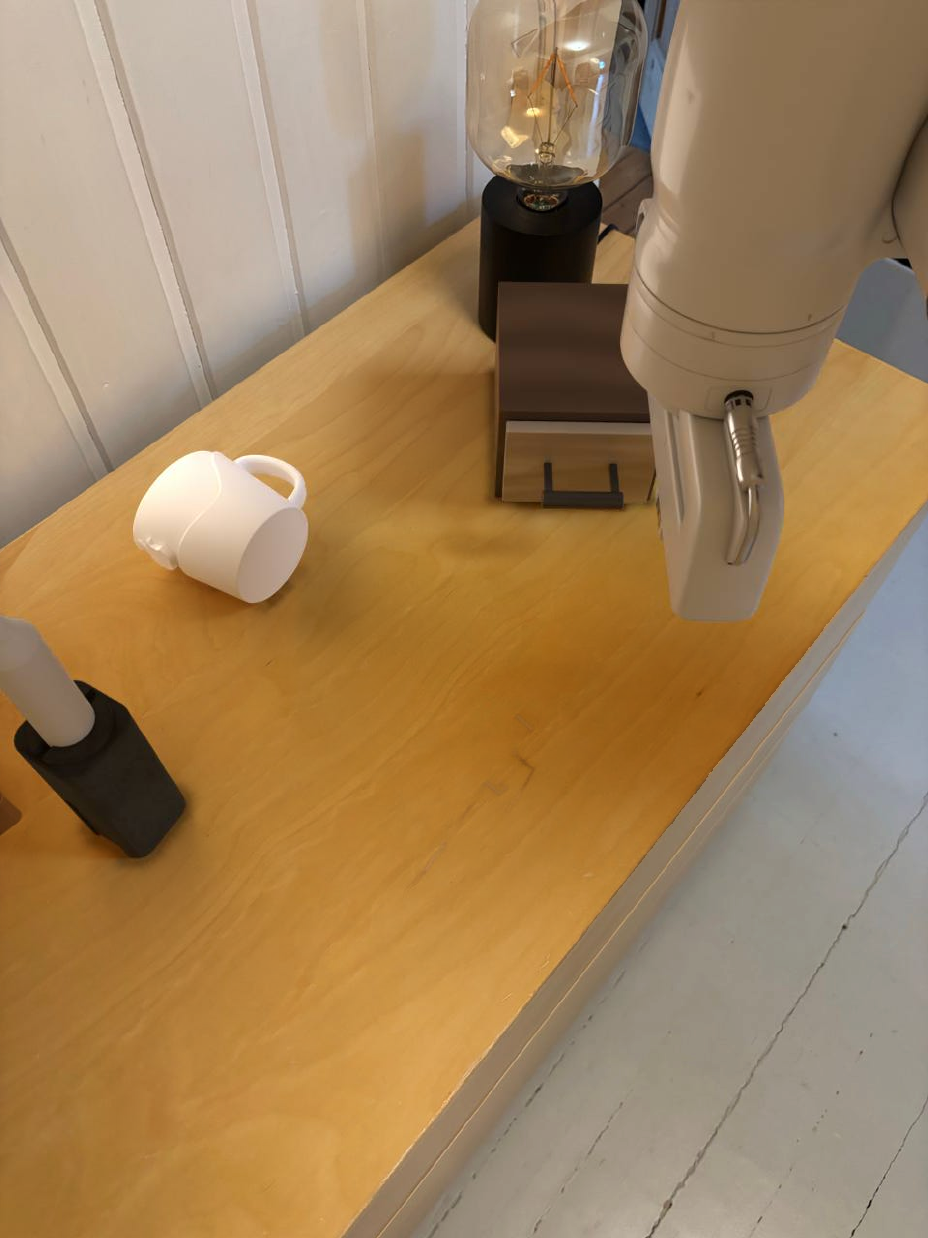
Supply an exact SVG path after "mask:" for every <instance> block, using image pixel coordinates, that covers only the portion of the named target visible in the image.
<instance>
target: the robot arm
mask: <svg viewBox="0 0 928 1238" xmlns="http://www.w3.org/2000/svg"><path fill="white" fill-rule="evenodd" d="M667 49H668V50H667V55H666V59H665V64H664V68H663V73H662V78H661V83H660V89H659V93H658V99H657V103H656V110H655V117H654V123H653V128H652V135H651V143H650V163H651V164H650V166H651V172H652V177H653V179H652V180H653V193H652V194H653V195H652V197H651V198H649V197H648V198H644V199H642V200H641V202H640V203H639V207H638V212H637V218H636V225H635V237H634V247H633V254H632V261H631V267H630V273H629V280H628V284H629V285H628V291H627V298H626V305H625V311H624V317H623V323H622V330H621V336H620V347H621V353H622V356H623V360H624V362H625V364H626V366H627V368H628V370H629V372H630V373H631V374H632V376H633V377H634V378H635V380H636V381H637V382H638V383H639V384H640V385H641V386H642V387H643V388H644V389H645V390H646V391H647V394H648V403H649V412H650V421H651V430H652V439H653V448H654V458H655V467H656V484H657V485H656V490H655V491H656V492H655V496H654V498H655V508H656V516H657V526H658V538H659V539H660V541H662V542H663V547H664V556H665V565H666V575H667V584H668V592H669V593H668V594H669V602H670V609H671V611H672V613H673V614H674V615H675V616H676V617H678V618H679V619H681V620H685V621H689V622H695V623H710V624H711V623H713V624H714V623H715V624H717V623H718V624H721V623H738V622H743V621H747V620H749V619H750V618H752V617H754V615H755V613H756V611H757V610H758V607H759V605H760V602H761V600H762V596H763V594H764V591H765V588H766V586H767V583H768V580H769V577H770V574H771V571H772V568H773V565H774V561H775V559H776V555H777V552H778V548H779V544H780V540H781V537H782V532H783V526H784V517H785V494H784V493H785V492H784V484H783V479H782V474H781V470H780V465H779V459H778V453H777V449H776V445H775V439H774V434H773V429H772V426H771V420H770V416H772V415H775V414H777V413H780V412H782V411H785V410H786V409H789V408H790V407H792V406H794V405H796V404H797V403H798V402H800V401H801V400H802V399H804V398H805V397H806V396H807V395H808V394H809V393H810V392H811V391H812V389H813V388H814V387H815V385H816V384H817V382H818V380H819V378H820V375H821V374H822V371H823V368H824V366H825V364H826V361H827V358H828V355H829V353H830V351H831V348H832V345H833V342H834V340H835V339H836V336H837V333H838V331H839V329H840V326H841V324H842V321H843V318H844V316H845V314H846V311H847V309H848V306H849V305H850V301H851V299H852V296H853V293H854V291H855V288H856V286H857V284H858V281H859V280H860V278H861V276H862V274H863V273H864V271H865V270H866V269H867V268H868V267H869V266H871V265H872V264H874V263H876V262H877V261H880V260H884V259H908V261H909V264H910V266H911V270H912V272H913V275H914V277H915V280H916V281H917V284H918V286H919V290H920V291H921V294H922V296H923V299H924V301H925V312H926V313H925V314H926V318H927V320H928V0H679V5H678V8H677V12H676V16H675V20H674V25H673V28H672V32H671V37H670V41H669V46H668V48H667Z"/></svg>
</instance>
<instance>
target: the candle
mask: <svg viewBox="0 0 928 1238" xmlns="http://www.w3.org/2000/svg"><path fill="white" fill-rule="evenodd" d="M0 690H1V692H3V694H4V695H5V696H6V697H7V699H8V700H9V701H10V702H11V703H12V704H13V705H14V707H15V708H16V709H17V710H18V711H19V712H20V714H21V715H22V716H23V718H24V719H25V720H24V721H23V723H22V724H20V725H19V727H18V729H16V731H15V734H14V737H13V746H14V748H15V750H16V752H17V753H18V754H19V755H20V756H21V758H23V759H24V760H25V761H26V762H27V763H28V764H29V766H31V767H32V769H33V770H34V771H35V772H36V773H37V775H39V776H40V777H41V778H42V780H43V781H44V782H46V784H47V785H48V786H49V787H50V788H51V789H52V790H53V791H54V792H55V793H56V794H57V796H59V798H60V799H61V800H62V801H63V802H64V804H65V805H67V806H68V807H69V808H70V809H71V810H72V812H73V813H74V814H75V815H76V816H77V817H78V818H79V819H80V820H81V821H82V822H83V824H85V825H86V826H87V828H88V829H89V830H90V831H91V832H92V833H93V834H94V835H95V836H96V837H98V836H102V837H104V838H105V839H107V840H108V841H109V842H111V843H113V844H114V845H116V846H117V847H119V849H121V851H122V852H123V853H124V854H125V855H126V856H127V857H129V858H132V859H133V858H134V859H142V858H145V857H147V856H148V855H150V854H152V852H153V851H154V850H155V849H156V848H157V846H158V845H159V844H160V843H161V841H163V839H164V838H165V836H166V835H168V833H169V832H170V830H171V829H172V828H173V826H174V825H175V824H176V823H177V821H178V820H179V819H180V818H181V816H182V815H183V813H184V812H185V809H186V800H185V797H184V795H183V794H182V792H181V789H179V787H178V785H177V784H176V783H175V781H174V779H173V778H172V776H171V774H170V773H169V772H168V770H167V768H166V767H165V765H164V764H163V762H162V761H161V759H160V758H159V756H158V755H157V753H156V751H155V750H154V748H153V747H152V745H151V744H150V742H149V740H148V739H147V737H146V735H145V734H144V732H143V731H142V730H141V727H140V726H139V724H138V723H137V722H136V720H135V719H134V717H133V715H132V714H131V712H130V711H129V709H128V708H127V706H125V705H124V704H123V703H121V702H119V701H118V700H116V699H114V698H112V697H111V696H109V695H108V694H106V693H105V692H102V691H101V690H99V689H98V688H96V687H94V686H93V685H91V684H90V683H88V682H85V681H83V680H81V679H80V680H79V679H72V677H71V675H70V673H68V671H67V670H66V669H65V667H64V665H63V664H62V662H60V660H59V658H58V657H57V656H56V654H55V653H54V651H53V650H52V649H51V647H50V646H49V644H48V642H46V640H45V639H44V637H43V636H42V634H41V633H40V632H39V631H38V629H37V627H36V626H35V625H34V624H32V623H31V622H30V621H28V620H27V619H25V618H24V619H23V618H20V617H11V616H8V617H7V616H5V615H3V614H1V613H0Z"/></svg>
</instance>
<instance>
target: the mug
mask: <svg viewBox="0 0 928 1238" xmlns="http://www.w3.org/2000/svg"><path fill="white" fill-rule="evenodd" d="M254 475H267V476H272V477H275V478H278V479H281V480H283V481H285V482H286V483H288V484H290V485H291V486H292V487H293V490H292V492H291V493H290V495H289V496H288V497H287V498H285V497H284V496H282V495H281V494H280V493H278V492H277V491H275V490H274V489H273V488H271V487H270V486H268V485H267V484H265V483H264V482H263V481H261V480H260V479H258V478H257V477H255V476H254ZM306 500H307V488H306V482H305V479H304V477H303V475H302V474H301V472H300V471H299V469H297V468H296V467H294V466H293V465H291V464H290V463H289V462H286V461H285V460H282V459H279V458H277V457H273V456H269V455H264V454H249V455H248V454H247V455H243V456H240V457H238V458H236V459H234V460H232V459H230V458H229V457H227V456H226V455H225V454H223V453H222V452H221V451H217V450H215V451H214V450H213V452H212V451H209V450H197V451H194V452H191V453H187V454H186V455H184V456H182V457H180V458H179V459H177V460H176V461H174V462H173V463H172V464H170V465H169V466H168V467H167V468H166V469H165V470H164V471H163V472H162V473H161V474H160V475H158V477H157V478H156V479H155V480H154V481H153V483H152V484H151V486H150V487H149V488H148V490H147V491H146V493H145V494H144V496H143V498H142V499H141V502H140V504H139V506H138V508H137V510H136V514H135V516H134V521H133V527H132V535H133V536H132V537H133V540H134V543H135V545H136V546H137V548H138V549H139V550H140V551H142V552H144V553H145V554H148V555H149V556H150V557H151V559H152V560H153V561H154V562H155V563H156V564H157V565H159V566H160V567H162V568H164V569H166V570H168V571H174V570H175V569H176V568H179V569H180V570H181V572H183V574H185V576H188V577H190V578H191V579H194V580H197V581H199V582H200V583H203V584H205V585H207V586H209V587H212V588H214V589H216V590H219V591H220V592H223V593H225V594H227V595H229V596H232V597H234V598H236V599H239V600H241V601H243V602H245V603H247V604H257V603H261V602H264V601H266V600H268V599H269V598H271V597H272V596H274V594H276V593H277V592H278V591H279V590H280V589H281V588H282V587H283V586H284V585H285V584H286V582H288V580H289V579H290V577H292V574H293V573H294V572H295V570H296V568H297V567H298V564H299V563H300V561H301V560H302V559H301V558H302V556H303V554H304V551H305V548H306V546H307V541H308V537H309V536H308V535H309V523H308V518H307V515H306V514H305V512H304V510H302V508H303V507H304V505H305V503H306Z"/></svg>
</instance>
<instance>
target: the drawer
mask: <svg viewBox="0 0 928 1238" xmlns="http://www.w3.org/2000/svg"><path fill="white" fill-rule="evenodd" d="M654 470H655V458H654V448H653V439H652V430H651V423H647V422H624V421H603V422H553V421H548V420H511V421H506V436H505V452H504V468H503V485H502V498H501V501H502V502H519V503H520V502H521V503H522V502H523V503H541V509H542V510H559V511H560V510H561V511H562V510H563V511H565V510H567V511H612V512H613V511H616V512H617V511H618V512H620V511H623V509H624V504H627V505H628V504H633V505H635V504H636V505H639V504H640V505H646V504H647V501H648V500H647V497H648V493H649V489H650V485H651V482H652V478H653V474H654Z"/></svg>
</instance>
